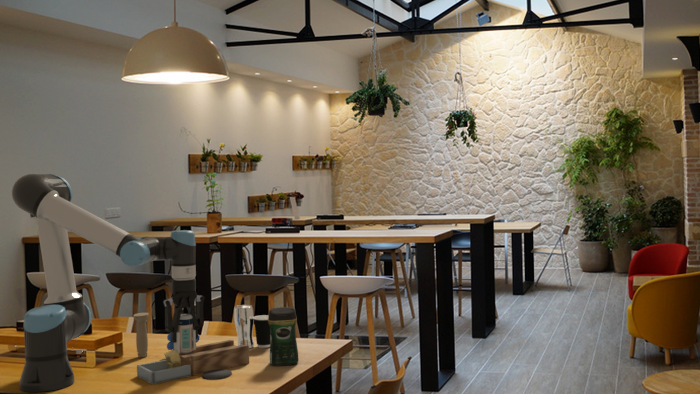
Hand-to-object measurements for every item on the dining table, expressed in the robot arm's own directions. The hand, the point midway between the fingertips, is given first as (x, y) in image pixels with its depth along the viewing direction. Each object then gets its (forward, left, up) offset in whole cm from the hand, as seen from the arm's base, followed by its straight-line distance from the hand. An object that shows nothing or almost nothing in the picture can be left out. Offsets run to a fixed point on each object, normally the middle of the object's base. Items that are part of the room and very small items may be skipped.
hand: (184, 350), depth 214 cm
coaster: (+5, -11, -7) cm, 14 cm away
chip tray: (-7, 0, -7) cm, 10 cm away
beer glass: (+31, +14, -7) cm, 34 cm away
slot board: (+10, 0, -7) cm, 12 cm away
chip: (-3, -1, -4) cm, 5 cm away
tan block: (-4, 0, -3) cm, 5 cm away
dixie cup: (+36, +10, -7) cm, 38 cm away
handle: (-3, +29, -7) cm, 30 cm away
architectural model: (-19, +46, -7) cm, 50 cm away
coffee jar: (+28, -14, -7) cm, 32 cm away
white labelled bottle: (0, 0, -1) cm, 1 cm away
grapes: (+8, +19, -7) cm, 22 cm away
